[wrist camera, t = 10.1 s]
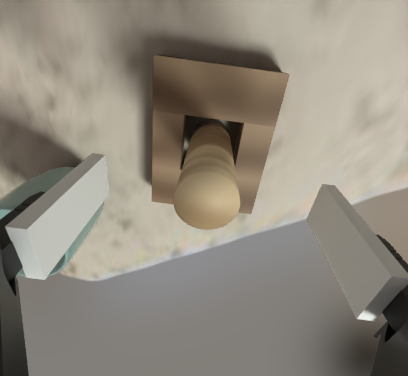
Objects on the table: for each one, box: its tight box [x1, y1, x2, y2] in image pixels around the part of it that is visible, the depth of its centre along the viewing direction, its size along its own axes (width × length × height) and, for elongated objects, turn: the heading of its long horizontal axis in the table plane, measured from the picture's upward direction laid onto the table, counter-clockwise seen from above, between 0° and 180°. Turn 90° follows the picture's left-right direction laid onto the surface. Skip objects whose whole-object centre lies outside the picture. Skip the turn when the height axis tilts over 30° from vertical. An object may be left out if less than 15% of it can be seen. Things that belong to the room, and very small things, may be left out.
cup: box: [0, 167, 104, 277], centre depth 24 cm, size 8×8×10 cm
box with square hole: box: [152, 55, 290, 214], centre depth 23 cm, size 14×11×2 cm
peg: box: [173, 120, 240, 230], centre depth 19 cm, size 4×4×12 cm
